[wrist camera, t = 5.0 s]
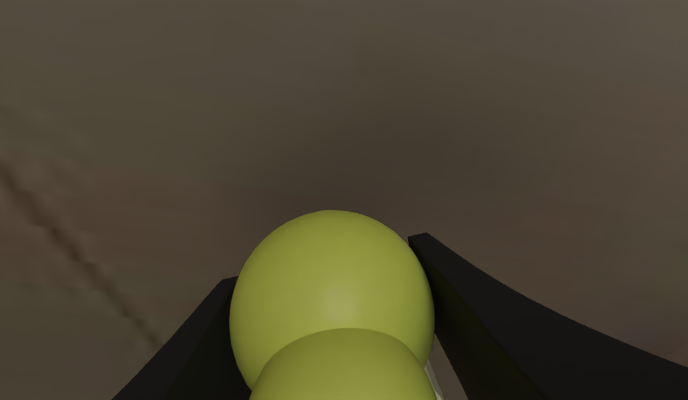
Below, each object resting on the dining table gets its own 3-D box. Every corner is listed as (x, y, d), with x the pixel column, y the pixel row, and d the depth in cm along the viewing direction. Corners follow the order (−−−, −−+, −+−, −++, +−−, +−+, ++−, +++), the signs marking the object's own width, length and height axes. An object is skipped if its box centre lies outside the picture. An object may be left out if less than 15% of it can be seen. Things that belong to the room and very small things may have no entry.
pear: (406, 283, 12) (593, 725, 4) (279, 312, 12) (214, 812, 4) (389, 161, 10) (796, 696, 2) (228, 199, 10) (-203, 923, 2)
